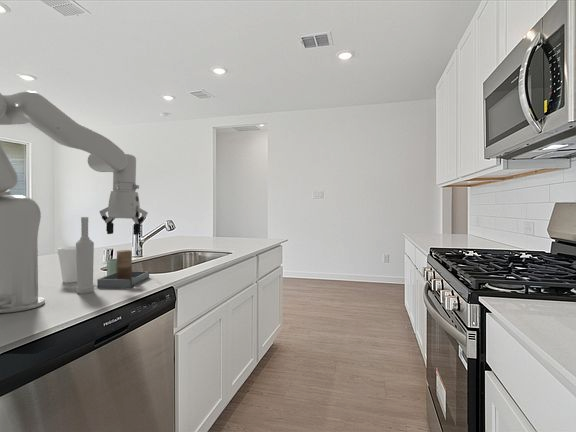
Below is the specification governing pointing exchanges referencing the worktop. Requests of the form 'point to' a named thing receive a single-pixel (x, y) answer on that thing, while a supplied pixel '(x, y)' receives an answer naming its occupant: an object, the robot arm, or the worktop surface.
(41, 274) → the worktop surface
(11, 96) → the robot arm
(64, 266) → the foam cup
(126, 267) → the walnut peg
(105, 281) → the tray
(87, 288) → the bottle
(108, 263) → the deep cup
